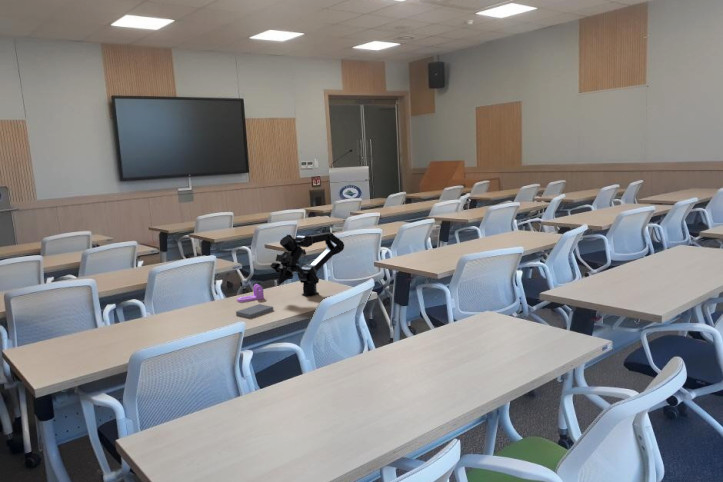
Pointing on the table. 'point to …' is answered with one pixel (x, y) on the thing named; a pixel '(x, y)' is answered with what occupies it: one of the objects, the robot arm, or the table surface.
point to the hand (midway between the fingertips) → (279, 283)
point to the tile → (254, 311)
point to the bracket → (257, 295)
